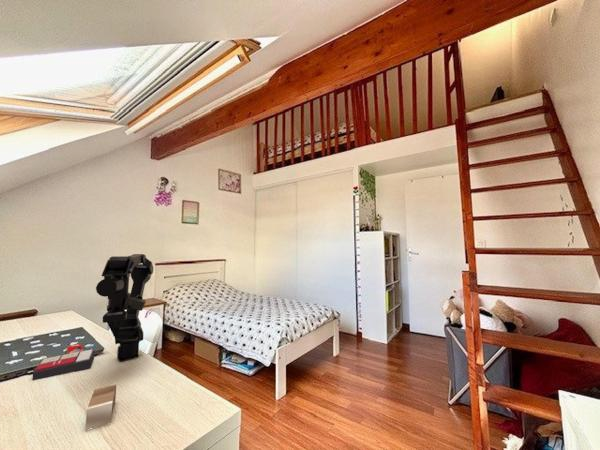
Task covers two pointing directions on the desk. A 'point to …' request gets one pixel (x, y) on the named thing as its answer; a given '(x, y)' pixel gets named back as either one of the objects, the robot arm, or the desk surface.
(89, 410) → the beige tall block
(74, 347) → the race car
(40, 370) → the calculator
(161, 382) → the desk surface
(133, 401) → the desk surface
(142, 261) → the robot arm
